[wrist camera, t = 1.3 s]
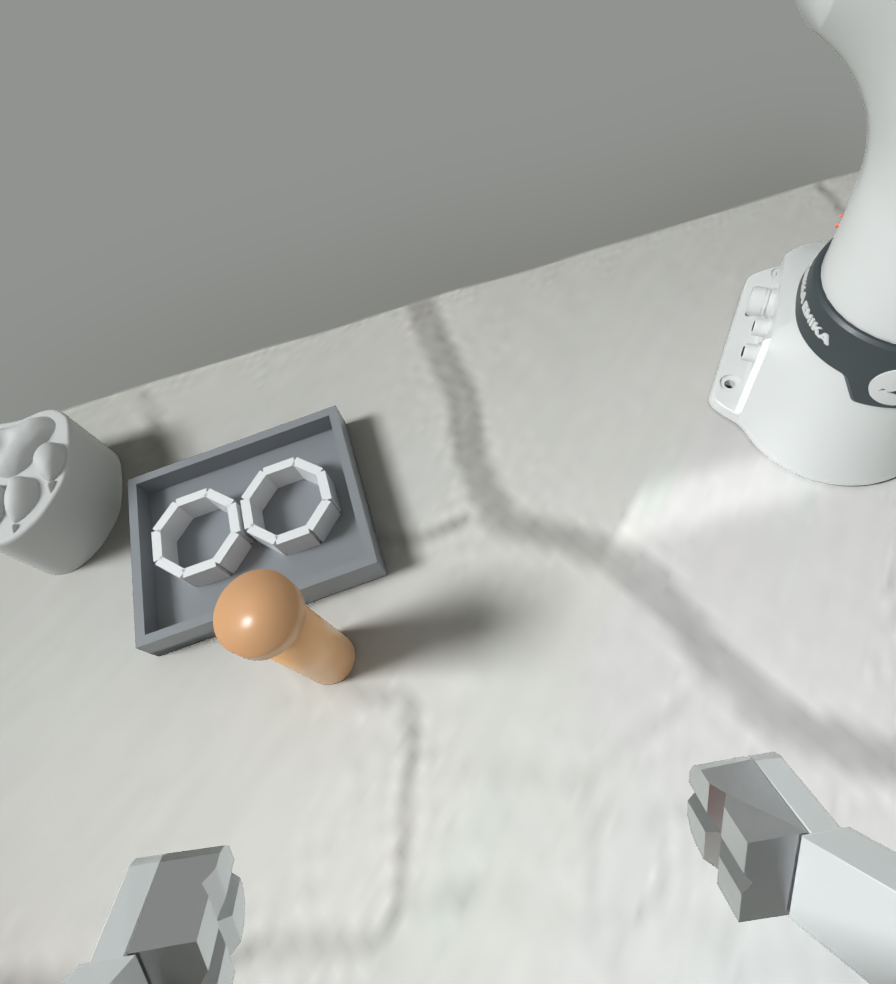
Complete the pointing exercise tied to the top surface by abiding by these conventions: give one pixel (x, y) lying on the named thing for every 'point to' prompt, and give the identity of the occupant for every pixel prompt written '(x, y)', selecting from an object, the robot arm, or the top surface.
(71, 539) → the lumpy-topped squat cylinder
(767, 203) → the top surface
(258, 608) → the round-headed peg
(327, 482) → the tray
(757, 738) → the top surface
